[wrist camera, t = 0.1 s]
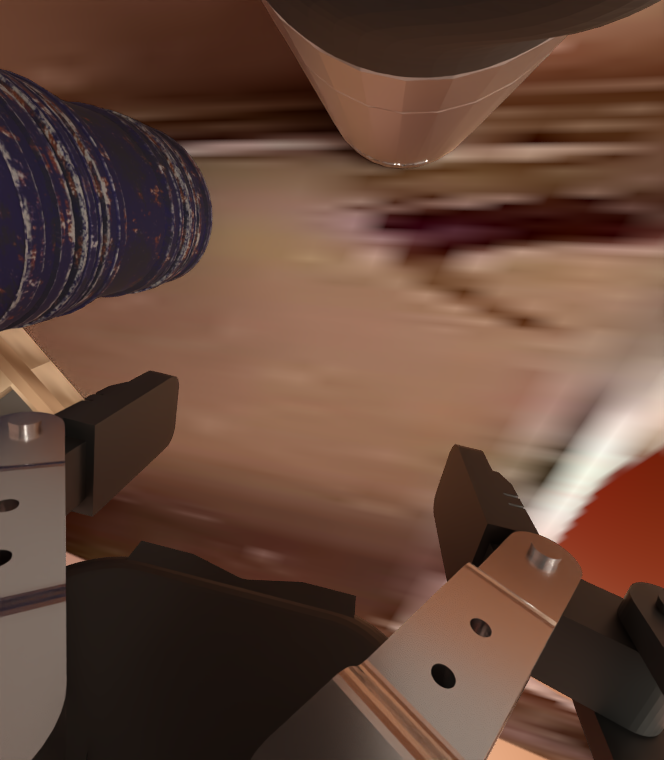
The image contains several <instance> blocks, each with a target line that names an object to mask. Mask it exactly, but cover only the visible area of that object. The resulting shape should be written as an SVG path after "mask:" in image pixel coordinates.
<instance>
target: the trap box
mask: <svg viewBox="0 0 664 760" xmlns="http://www.w3.org/2000/svg"><path fill="white" fill-rule="evenodd" d="M81 400H84V398H83V397H82V396H81V395H80V394H79V393H78V391H77V390H76V389H75V388H74V387H73V386H72V385H71V383H70V382H69V381H68V380H67V379H66V378H65V376H64V375H63V374H62V373H61V372H60V371H59V370H58V368H57V367H56V366H55V365H54V364H53V363H52V361H51V360H50V359H49V358H48V357H47V356H46V355H45V353H44V352H43V351H42V350H41V349H40V348H39V346H38V345H37V344H36V343H35V342H34V341H33V340H32V338H31V337H30V336H29V335H28V334H27V333H26V331H25V330H24V329H23V328H16V329H8V330H4V331H0V416H3V415H6V414H11V413H18V412H44V413H49V414H53V415H54V414H56V413H58V412H60V411H62V410H64V409H65V408H67V407H69V406H71V405H73V404H75V403H77V402H79V401H81Z"/></svg>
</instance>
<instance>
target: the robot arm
mask: <svg viewBox="0 0 664 760" xmlns="http://www.w3.org/2000/svg"><path fill="white" fill-rule="evenodd" d="M261 1H262V3H263V4H264V6H265V8H266V9H267V11H268V13H269V14H270V16H271V18H272V20H273V21H274V23H275V25H276V26H277V28H278V30H279V31H280V33H281V34H282V36H283V37H284V39H285V41H286V42H287V44H288V46H289V47H290V49H291V51H292V53H293V54H294V56H295V58H296V59H297V61H298V63H299V64H300V66H301V68H302V69H303V71H304V73H305V75H306V76H307V78H308V80H309V81H310V83H311V85H312V86H313V88H314V90H315V92H316V93H317V95H318V97H319V98H320V100H321V102H322V103H323V105H324V107H325V108H326V110H327V112H328V114H329V115H330V117H331V119H332V121H333V122H334V124H335V125H336V127H337V128H338V130H339V132H340V133H341V135H342V136H343V138H344V140H345V141H346V142H347V143H348V144H349V145H350V146H351V147H352V148H353V149H354V150H355V151H356V152H357V153H359V154H360V155H362V156H363V157H365V158H366V159H368V160H370V161H371V162H374V163H377V164H380V165H383V166H385V167H392V168H402V169H404V168H412V167H419V166H423V165H425V164H428V163H431V162H434V161H436V160H438V159H440V158H441V157H443V156H445V155H446V154H448V153H449V152H451V151H452V150H454V149H455V148H456V147H457V146H458V145H459V144H460V143H461V142H462V141H463V140H464V139H465V138H466V137H467V136H468V135H469V134H471V133H472V132H473V131H474V130H475V129H476V128H477V127H478V126H479V125H480V124H481V123H482V122H483V121H484V120H485V119H486V118H487V117H488V116H489V115H490V114H491V113H492V112H493V111H494V110H495V109H496V108H497V107H498V106H499V105H500V104H501V103H502V102H503V101H504V100H505V99H506V98H507V97H508V96H509V95H510V94H511V93H512V92H513V91H514V90H515V89H516V88H517V87H518V86H519V85H520V84H521V83H522V82H523V81H524V80H525V79H526V78H527V77H528V76H529V74H530V73H531V72H532V71H533V70H534V69H535V68H536V67H537V66H538V65H539V64H540V63H541V62H542V61H543V60H544V59H545V58H546V57H547V56H548V55H549V54H550V53H551V52H552V51H553V50H554V49H555V48H556V46H557V45H558V44H559V43H560V42H561V41H562V40H563V39H564V38H565V37H566V36H567V35H570V34H575V33H579V32H583V31H586V30H590V29H594V28H597V27H601V26H604V25H606V24H609V23H612V22H614V21H617V20H620V19H622V18H625V17H628V16H630V15H632V14H634V13H636V12H639V11H641V10H643V9H645V8H647V7H649V6H651V5H653V4H655V3H657V2H659V1H660V0H261ZM178 390H179V382H178V379H177V377H175V376H171V375H167V374H163V373H159V372H155V371H148V372H146V373H144V374H142V375H140V376H138V377H136V378H135V379H133V380H131V381H129V382H125V383H120V384H116V385H111V386H108V387H106V388H104V389H102V390H100V391H98V392H97V393H96V394H93V395H91V396H89V397H87V398H85V400H81V401H79V402H77V403H75V404H73V405H71V406H69V407H67V408H65V409H64V410H62V411H60V412H58V413H56V414H54V415H53V414H49V413H44V412H18V413H11V414H6V415H3V416H0V760H487V758H488V756H489V754H490V752H491V751H492V749H493V746H494V745H495V743H496V741H497V739H498V737H499V735H500V733H501V732H502V730H503V728H504V726H505V724H506V722H507V720H508V718H509V716H510V715H511V713H512V711H513V709H514V707H515V705H516V703H517V701H518V699H519V698H520V696H521V694H522V692H523V690H524V688H525V686H526V684H527V682H528V681H529V679H530V677H533V678H535V679H537V680H539V681H541V682H542V683H544V684H546V685H548V686H550V687H551V688H553V689H555V690H557V691H559V692H561V693H562V694H564V695H566V696H568V697H570V698H571V699H572V700H573V703H574V706H575V709H576V712H577V715H578V717H579V720H580V723H581V725H582V728H583V731H584V734H585V736H586V739H587V742H588V744H589V747H590V750H591V753H592V755H593V758H594V760H664V588H661V587H659V586H656V585H653V584H649V583H643V582H638V583H634V584H632V585H631V586H630V588H629V590H628V591H627V593H626V595H625V597H624V598H621V597H619V596H617V595H615V594H612V593H610V592H608V591H606V590H604V589H601V588H599V587H597V586H595V585H593V584H590V583H588V582H586V581H584V580H582V579H581V577H582V570H581V567H580V566H579V564H578V562H577V561H576V560H575V558H574V557H573V556H572V555H571V554H570V553H568V552H567V551H566V550H565V549H564V548H562V547H561V546H560V545H558V544H557V543H555V542H553V541H551V540H550V539H548V538H545V537H543V536H541V535H539V534H538V532H537V530H536V528H535V526H534V524H533V523H532V521H531V519H530V517H529V515H528V514H527V512H526V510H525V509H523V507H524V506H523V504H522V503H521V501H520V499H518V495H517V493H516V492H515V490H514V488H513V486H512V484H510V483H509V482H508V481H507V480H506V479H505V478H504V477H503V476H502V475H501V474H500V473H499V472H495V471H492V469H491V467H490V465H489V463H488V461H487V459H486V457H485V455H484V453H483V451H481V450H477V449H473V448H469V447H464V446H460V445H456V444H455V445H454V446H453V447H452V449H451V451H450V453H449V456H448V459H447V462H446V465H445V468H444V471H443V474H442V477H441V480H440V483H439V486H438V488H437V492H436V495H435V500H434V518H435V523H436V528H437V533H438V538H439V543H440V548H441V553H442V558H443V563H444V568H445V573H446V579H447V583H446V584H445V585H444V586H442V587H441V588H440V589H439V590H438V591H437V592H436V593H435V594H434V595H433V596H432V597H431V598H430V599H429V600H428V601H427V602H426V603H425V604H424V605H423V606H422V607H421V608H420V609H419V610H417V611H416V612H415V613H414V614H413V615H412V616H411V617H410V618H409V619H408V620H407V621H406V622H405V623H404V624H403V625H402V626H401V627H400V628H399V629H398V630H397V631H396V632H395V633H394V634H393V635H391V636H390V637H389V638H387V637H386V636H385V635H384V634H383V633H382V632H380V631H379V630H378V629H377V628H375V627H374V626H373V625H371V624H369V623H368V622H366V621H365V620H363V619H362V618H360V617H358V616H356V615H354V614H355V600H356V596H354V595H350V594H346V593H342V592H338V591H335V590H331V589H327V588H323V587H319V586H315V585H311V584H307V583H303V582H286V581H264V580H246V579H242V578H239V577H237V576H235V575H233V574H231V573H229V572H227V571H225V570H223V569H221V568H219V567H217V566H215V565H214V564H212V563H210V562H208V561H206V560H204V559H202V558H200V557H198V556H196V555H194V554H191V553H187V552H183V551H179V550H175V549H171V548H168V547H164V546H160V545H156V544H152V543H148V542H144V541H141V542H140V543H139V545H138V546H137V547H136V548H135V550H134V551H133V552H132V553H131V555H130V556H129V557H106V558H98V559H92V560H87V561H82V562H78V563H74V564H71V565H68V566H66V529H65V516H66V515H67V514H68V513H69V512H70V511H73V512H77V513H81V514H85V515H89V516H94V515H95V514H96V513H97V512H98V511H99V510H100V509H101V508H102V507H103V506H104V505H105V504H107V503H108V502H109V501H110V500H111V499H112V498H113V497H114V496H115V495H116V494H117V493H118V492H119V491H120V490H121V489H123V488H124V487H125V486H126V485H127V484H128V483H129V482H130V481H131V480H132V479H133V478H134V477H135V476H136V475H137V474H138V473H140V472H141V471H142V470H143V469H144V468H145V467H146V466H147V465H148V464H149V463H150V462H151V461H152V460H153V459H154V458H156V457H157V456H158V455H159V454H160V453H161V452H162V451H163V450H164V449H165V448H166V447H167V446H168V444H169V443H170V441H171V439H172V436H173V433H174V429H175V421H176V411H177V401H178Z"/></svg>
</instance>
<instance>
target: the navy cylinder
mask: <svg viewBox="0 0 664 760" xmlns="http://www.w3.org/2000/svg"><path fill="white" fill-rule="evenodd" d="M211 229H212V205H211V200H210V194H209V191H208V188H207V185H206V182H205V180H204V178H203V175H202V173H201V171H200V169H199V168H198V166H197V165H196V163H195V162H194V160H193V159H192V157H191V156H190V155H189V154H188V153H187V151H186V150H185V149H184V148H183V147H182V146H181V145H180V144H178V143H177V142H176V141H175V140H174V139H173V138H171V137H169V136H168V135H166V134H165V133H163V132H161V131H159V130H156V129H154V128H152V127H149V126H147V125H144V124H143V123H141V122H139V121H138V120H135V119H133V118H131V117H128V116H126V115H123V114H121V113H118V112H115V111H112V110H108V109H103V108H99V107H96V106H93V105H89V104H84V103H80V102H66V101H64V100H61V99H59V98H58V97H57V96H55V95H53V94H52V93H50V92H48V91H47V90H45V89H44V88H42V87H41V86H39V85H37V84H36V83H34V82H33V81H31V80H29V79H27V78H25V77H22V76H20V75H18V74H15V73H13V72H10V71H7V70H2V69H0V331H4V330H8V329H16V328H22V327H26V326H29V325H33V324H37V323H40V322H43V321H46V320H50V319H53V318H55V317H59V316H63V315H67V314H70V313H72V312H74V311H76V310H79V309H81V308H83V307H84V306H85V305H87V304H89V303H91V302H92V301H93V300H95V299H96V298H99V297H116V296H122V295H125V294H132V293H138V292H142V291H145V290H149V289H152V288H155V287H157V286H159V285H161V284H163V283H165V282H169V281H172V280H175V279H177V278H179V277H181V276H183V275H185V274H186V273H187V272H189V271H190V270H191V269H192V268H193V267H194V266H195V265H196V264H197V263H198V262H199V260H200V259H201V257H202V255H203V254H204V252H205V250H206V247H207V245H208V243H209V239H210V235H211Z"/></svg>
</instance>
